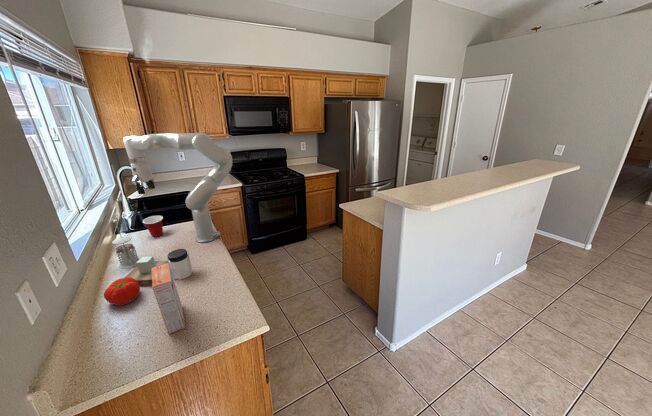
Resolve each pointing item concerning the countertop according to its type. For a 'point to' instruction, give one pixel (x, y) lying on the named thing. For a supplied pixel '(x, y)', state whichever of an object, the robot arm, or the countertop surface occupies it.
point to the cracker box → (167, 298)
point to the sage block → (146, 264)
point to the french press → (125, 251)
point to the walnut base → (144, 274)
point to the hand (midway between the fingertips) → (147, 191)
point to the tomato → (122, 291)
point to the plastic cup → (154, 225)
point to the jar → (179, 263)
